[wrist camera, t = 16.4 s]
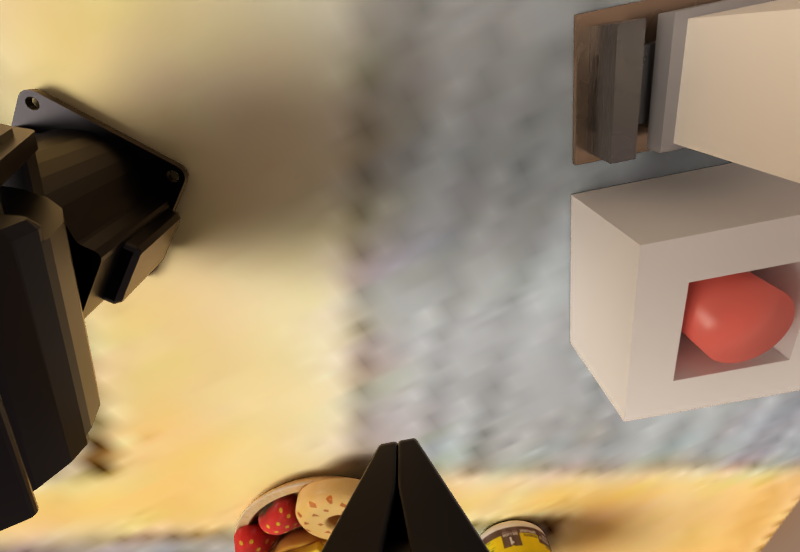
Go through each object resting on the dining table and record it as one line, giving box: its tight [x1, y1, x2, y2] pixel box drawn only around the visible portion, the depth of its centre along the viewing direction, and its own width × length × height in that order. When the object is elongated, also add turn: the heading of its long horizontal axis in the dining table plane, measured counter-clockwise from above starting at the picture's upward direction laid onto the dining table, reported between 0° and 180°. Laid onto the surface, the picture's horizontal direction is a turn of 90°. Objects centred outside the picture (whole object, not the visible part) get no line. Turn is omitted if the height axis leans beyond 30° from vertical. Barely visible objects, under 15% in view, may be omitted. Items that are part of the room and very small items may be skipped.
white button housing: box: [570, 163, 800, 422], centre depth 20 cm, size 9×9×6 cm
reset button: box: [681, 271, 795, 363], centre depth 19 cm, size 4×4×5 cm
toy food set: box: [234, 476, 360, 552], centre depth 31 cm, size 13×13×3 cm
